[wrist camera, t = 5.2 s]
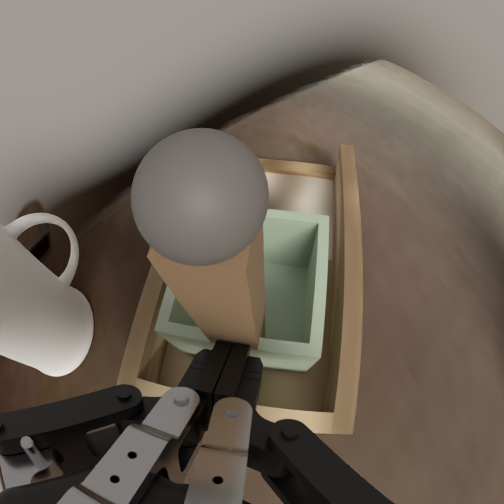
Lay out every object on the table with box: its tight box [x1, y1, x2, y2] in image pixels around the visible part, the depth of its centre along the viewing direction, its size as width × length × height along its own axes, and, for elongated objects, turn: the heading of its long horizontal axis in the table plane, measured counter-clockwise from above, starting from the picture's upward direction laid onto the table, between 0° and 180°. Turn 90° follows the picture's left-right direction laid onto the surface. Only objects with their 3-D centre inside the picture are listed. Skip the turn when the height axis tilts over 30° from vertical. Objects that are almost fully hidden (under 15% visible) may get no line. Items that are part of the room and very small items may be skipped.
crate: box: [131, 128, 329, 373], centre depth 13 cm, size 8×8×16 cm
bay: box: [117, 144, 363, 434], centre depth 21 cm, size 13×22×5 cm, turn 171°
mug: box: [0, 213, 94, 376], centre depth 16 cm, size 12×8×12 cm
